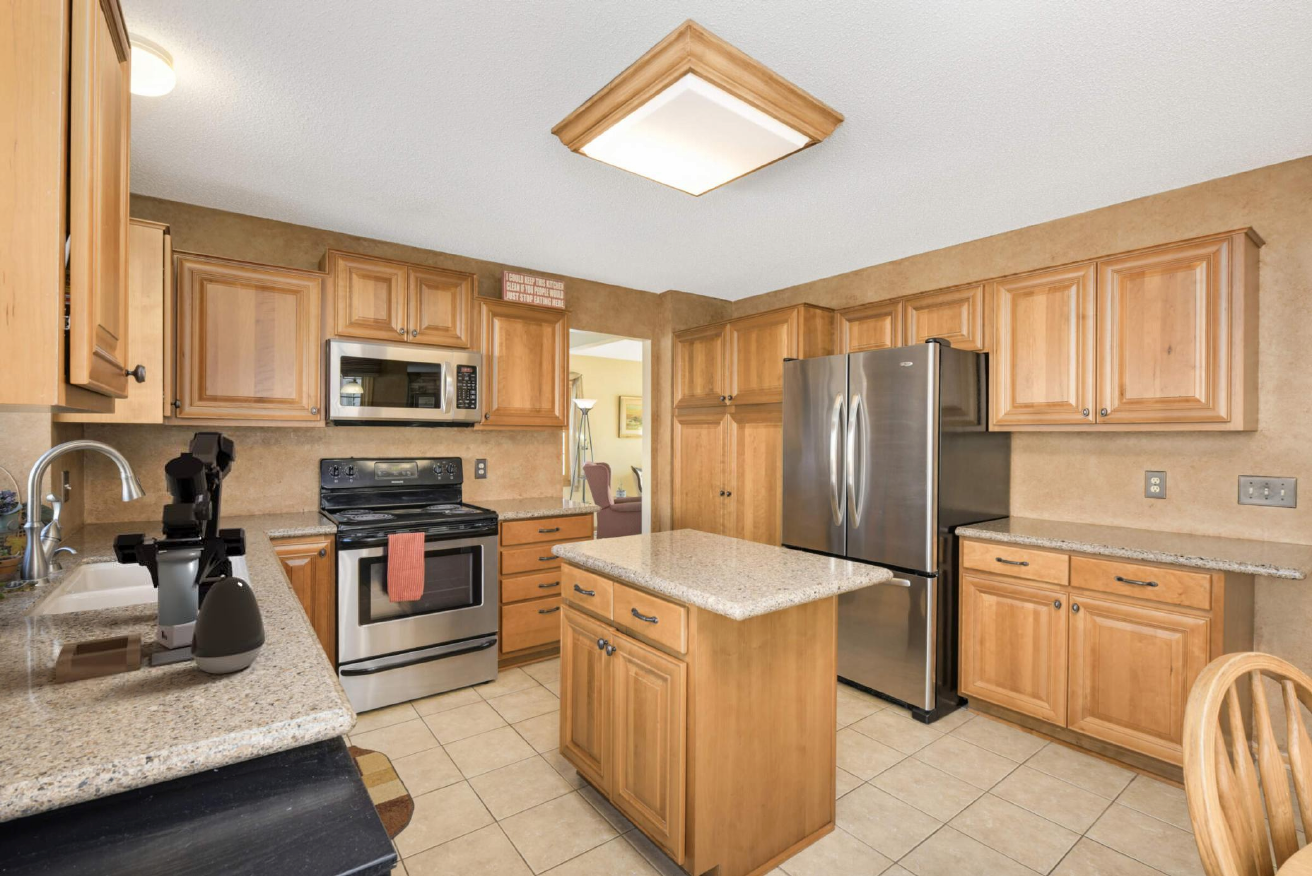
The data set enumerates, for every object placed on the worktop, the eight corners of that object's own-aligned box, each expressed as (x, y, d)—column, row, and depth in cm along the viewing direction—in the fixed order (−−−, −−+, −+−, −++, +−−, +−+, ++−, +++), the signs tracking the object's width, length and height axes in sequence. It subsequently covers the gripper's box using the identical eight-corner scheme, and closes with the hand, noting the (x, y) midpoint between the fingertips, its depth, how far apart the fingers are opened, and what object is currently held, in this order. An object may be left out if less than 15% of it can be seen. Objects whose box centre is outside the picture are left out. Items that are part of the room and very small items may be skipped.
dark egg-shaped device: (256, 652, 110) (257, 568, 110) (271, 668, 103) (272, 577, 103) (185, 667, 103) (186, 576, 103) (196, 685, 96) (197, 587, 96)
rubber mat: (151, 655, 108) (151, 653, 108) (201, 647, 113) (201, 645, 113) (151, 667, 103) (151, 664, 103) (203, 658, 107) (203, 655, 107)
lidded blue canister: (149, 622, 107) (150, 553, 107) (191, 613, 112) (192, 548, 112) (163, 628, 104) (163, 557, 104) (206, 619, 109) (206, 552, 109)
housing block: (63, 665, 103) (63, 644, 103) (141, 652, 110) (141, 633, 110) (55, 683, 96) (56, 661, 96) (139, 669, 102) (140, 648, 102)
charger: (265, 632, 122) (172, 650, 110) (246, 624, 127) (156, 641, 115) (266, 607, 122) (173, 623, 110) (247, 601, 127) (157, 615, 115)
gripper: (116, 487, 107) (96, 563, 97) (245, 484, 116) (238, 553, 106) (128, 527, 114) (110, 601, 104) (248, 521, 123) (242, 589, 113)
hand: (176, 585), depth 107 cm, fingers closed on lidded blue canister, 6 cm apart
